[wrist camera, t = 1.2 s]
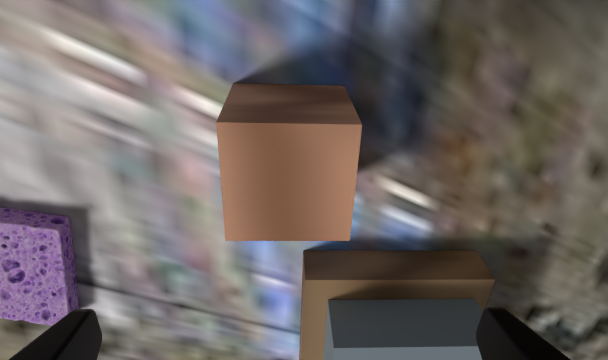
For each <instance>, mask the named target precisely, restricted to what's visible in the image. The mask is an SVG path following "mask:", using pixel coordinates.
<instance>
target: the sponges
mask: <svg viewBox="0 0 608 360" xmlns="http://www.w3.org/2000/svg"><path fill="white" fill-rule="evenodd" d="M75 309H79V303H78V294H77V286H76V273H75V263H74V252H73V242H72V231H71V228H70V219H69V218H68V217H67V216H57V215H52V214H46V213H40V212H34V211H25V210H19V209H12V208H2V207H0V318H5V319H10V320H15V321H17V320H25V321H29V322H31V323H37V324H48V325H54V324H55V323H57V322H58V321H59V320H60V319H62V318H63V317H64V316H66V315H67V314H68V313H69V312H71V311H73V310H75Z"/></svg>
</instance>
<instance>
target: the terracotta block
mask: <svg viewBox="0 0 608 360" xmlns="http://www.w3.org/2000/svg"><path fill="white" fill-rule="evenodd" d="M216 124H217V137H218V150H219V163H220V176H221V189H222V202H223V214H224V227H225V240H226V241H350V233H351V224H352V215H353V206H354V196H355V187H356V178H357V169H358V159H359V150H360V141H361V131H362V123H361V121H360V119H359V117H358V114H357V112H356V110H355V108H354V106H353V103H352V101H351V99H350V97H349V95H348V92H347V90H346V88H345V86H341V85H293V84H246V83H233V85H232V87H231V90H230V92H229V94H228V97H227V99H226V101H225V103H224V106H223V108H222V110H221V113H220V115H219V117H218V120H217V122H216Z"/></svg>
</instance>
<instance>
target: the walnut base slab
mask: <svg viewBox="0 0 608 360" xmlns="http://www.w3.org/2000/svg"><path fill="white" fill-rule="evenodd" d="M494 282H495V278H494V277H493V275H492V274H491V272H490V271H489V269H488V267H487V266H486V264H485V263H484V261H483V260H482V258H481V257H480V255H479V254H478V252H477V251H476V250H445V251H303V275H302V301H301V327H300V353H299V360H323V353H324V341H325V328H326V316H327V303H328V300H401V299H476V301H477V303H478V304H479V306H480V308H481V310H482V312H483V310H484V309H485V308H486V306H487V303H488V300H489V297H490V294H491V291H492V288H493V285H494Z"/></svg>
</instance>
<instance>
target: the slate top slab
mask: <svg viewBox="0 0 608 360" xmlns="http://www.w3.org/2000/svg"><path fill="white" fill-rule="evenodd" d="M482 313H483V312H482V310H481V308H480V306H479V304H478V303H477V301H476V299H401V300H328V303H327V316H326V328H325V341H324V353H323V360H482V358H481V355H480V351H479V348H478V345H477V341H476V330H477V327H478V324H479V321H480V318H481V315H482Z"/></svg>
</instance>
